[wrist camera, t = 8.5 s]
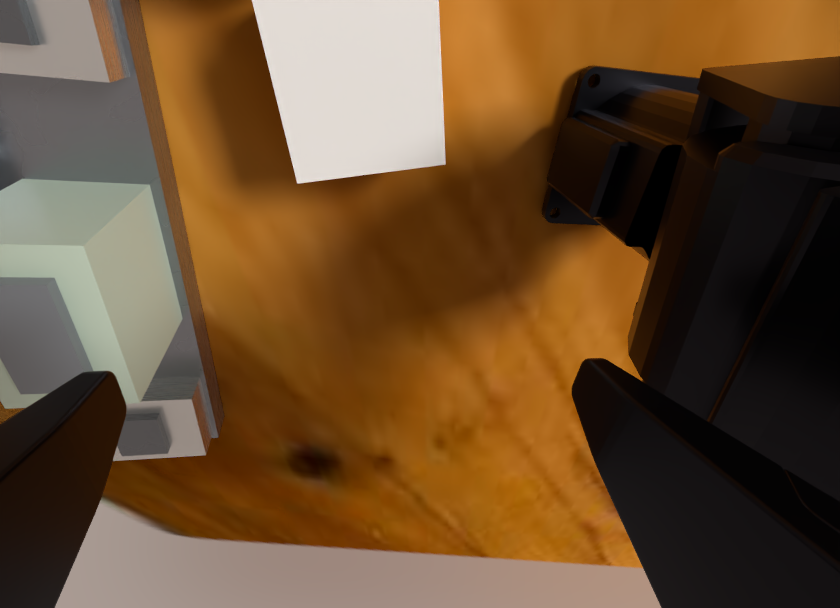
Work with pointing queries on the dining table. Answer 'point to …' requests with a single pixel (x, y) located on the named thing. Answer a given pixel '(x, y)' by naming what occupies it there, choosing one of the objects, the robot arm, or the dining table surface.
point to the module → (81, 287)
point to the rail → (109, 178)
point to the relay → (356, 84)
